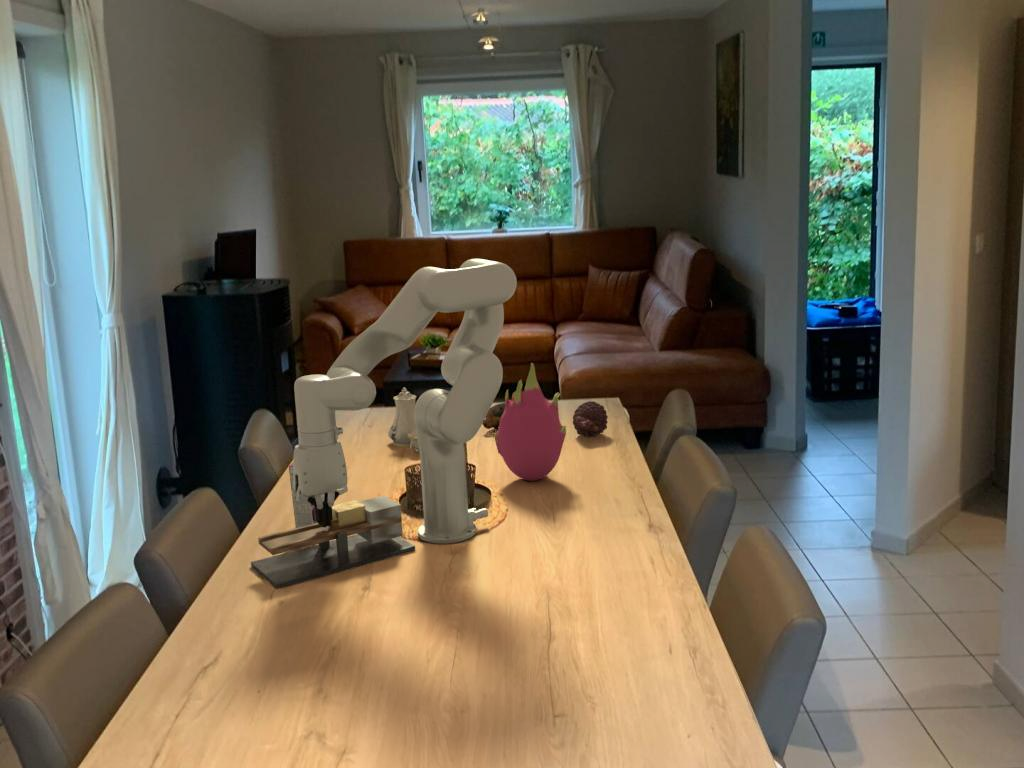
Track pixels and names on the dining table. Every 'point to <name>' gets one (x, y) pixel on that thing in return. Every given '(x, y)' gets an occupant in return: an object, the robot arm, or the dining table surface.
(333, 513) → the brass block
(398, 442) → the chinaware
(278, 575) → the stand
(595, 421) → the pine cone
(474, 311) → the robot arm
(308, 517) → the candy bar box
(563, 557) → the dining table surface
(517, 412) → the pink dragon fruit
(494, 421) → the decorative turtle
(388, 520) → the beam
